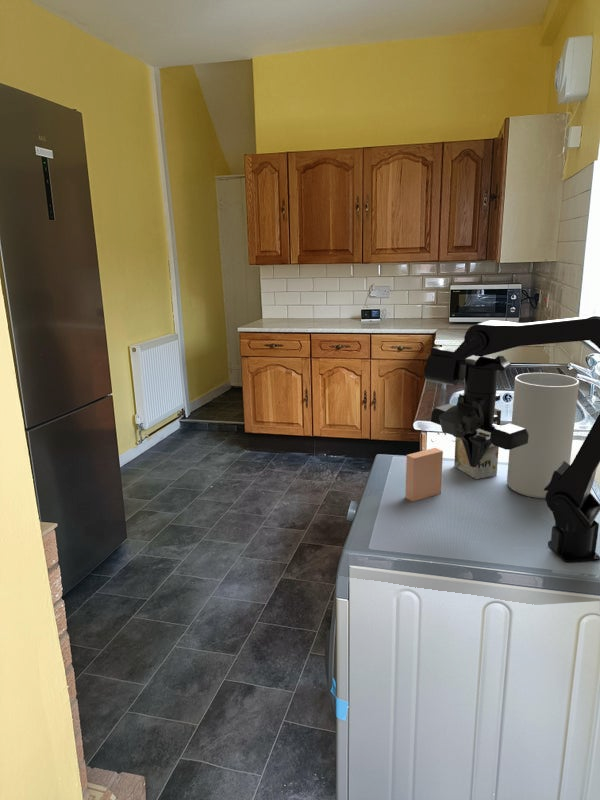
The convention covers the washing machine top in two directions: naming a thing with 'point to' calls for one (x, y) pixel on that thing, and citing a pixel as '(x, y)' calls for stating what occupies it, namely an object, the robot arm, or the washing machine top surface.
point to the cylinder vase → (541, 429)
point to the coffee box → (485, 465)
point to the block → (423, 474)
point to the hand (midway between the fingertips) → (473, 466)
